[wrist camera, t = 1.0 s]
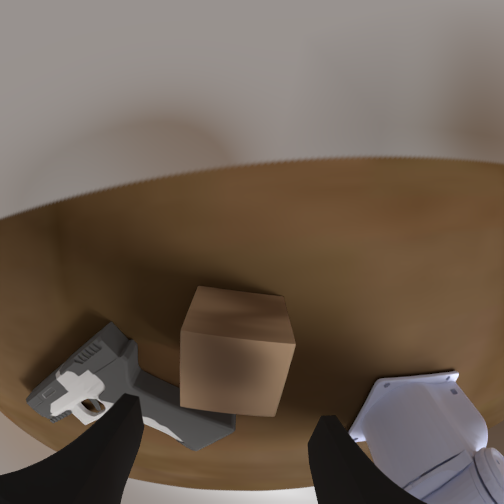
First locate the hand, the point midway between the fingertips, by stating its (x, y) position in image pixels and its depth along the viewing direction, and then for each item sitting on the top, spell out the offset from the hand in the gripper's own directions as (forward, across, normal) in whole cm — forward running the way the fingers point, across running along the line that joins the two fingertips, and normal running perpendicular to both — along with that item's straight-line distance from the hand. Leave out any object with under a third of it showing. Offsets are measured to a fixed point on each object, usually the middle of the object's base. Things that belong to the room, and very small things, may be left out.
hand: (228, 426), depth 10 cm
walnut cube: (+8, 0, 0) cm, 8 cm away
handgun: (+8, +9, +10) cm, 16 cm away
